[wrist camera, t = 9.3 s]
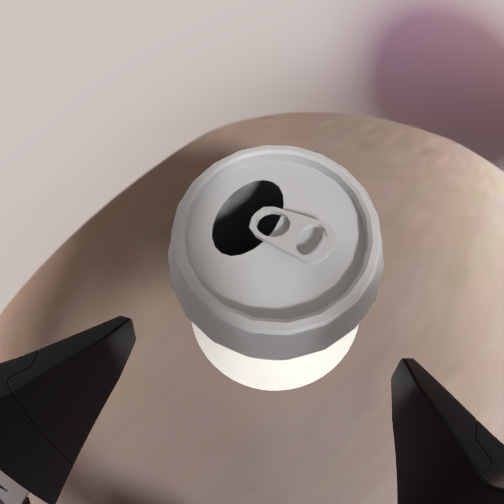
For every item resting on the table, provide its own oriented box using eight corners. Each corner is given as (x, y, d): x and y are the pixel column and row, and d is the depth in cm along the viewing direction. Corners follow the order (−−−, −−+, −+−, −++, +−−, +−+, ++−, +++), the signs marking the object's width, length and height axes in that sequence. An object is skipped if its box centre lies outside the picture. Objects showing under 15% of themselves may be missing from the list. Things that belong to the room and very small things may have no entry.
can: (257, 237, 21) (239, 105, 10) (347, 286, 19) (426, 188, 8) (199, 322, 19) (103, 262, 8) (293, 380, 17) (330, 413, 6)
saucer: (383, 284, 20) (387, 280, 19) (294, 420, 16) (296, 423, 16) (257, 205, 23) (256, 198, 22) (163, 321, 20) (158, 320, 19)
